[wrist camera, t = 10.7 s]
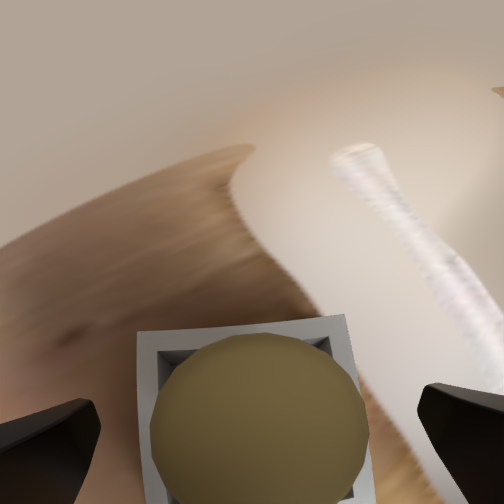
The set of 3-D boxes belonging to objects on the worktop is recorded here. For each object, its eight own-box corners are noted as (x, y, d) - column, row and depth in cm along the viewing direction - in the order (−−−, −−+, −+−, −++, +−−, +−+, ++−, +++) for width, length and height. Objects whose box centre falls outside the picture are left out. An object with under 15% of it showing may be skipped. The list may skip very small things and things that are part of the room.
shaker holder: (358, 501, 13) (387, 514, 10) (161, 522, 12) (141, 542, 9) (331, 328, 19) (351, 303, 16) (148, 344, 18) (127, 321, 15)
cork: (241, 356, 17) (242, 245, 8) (330, 421, 15) (452, 393, 6) (168, 437, 14) (59, 433, 5) (259, 507, 12) (285, 608, 3)
